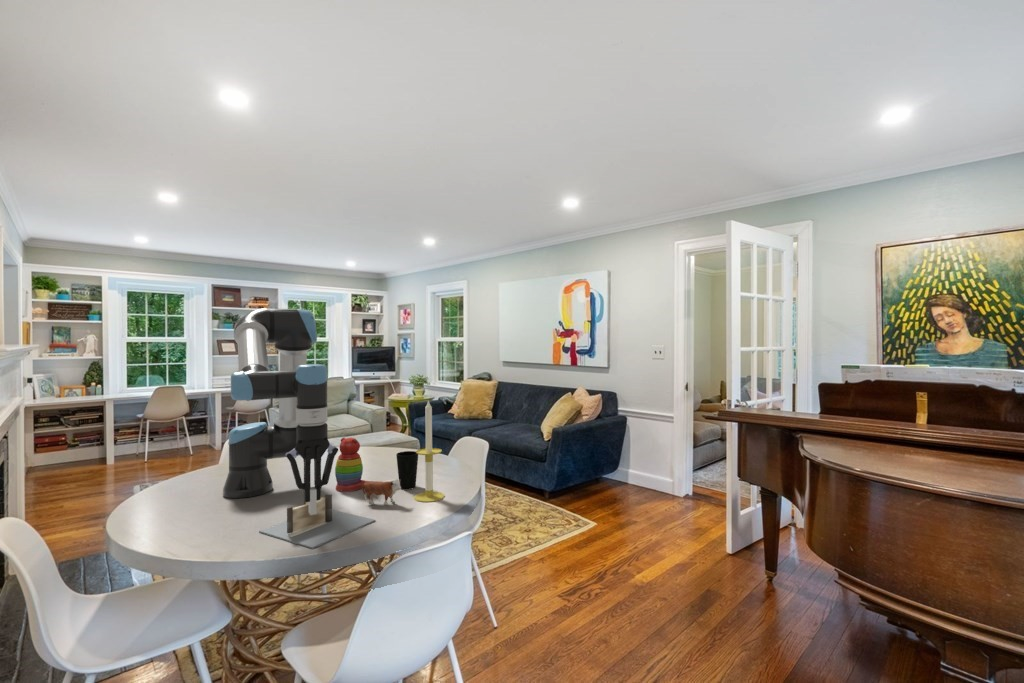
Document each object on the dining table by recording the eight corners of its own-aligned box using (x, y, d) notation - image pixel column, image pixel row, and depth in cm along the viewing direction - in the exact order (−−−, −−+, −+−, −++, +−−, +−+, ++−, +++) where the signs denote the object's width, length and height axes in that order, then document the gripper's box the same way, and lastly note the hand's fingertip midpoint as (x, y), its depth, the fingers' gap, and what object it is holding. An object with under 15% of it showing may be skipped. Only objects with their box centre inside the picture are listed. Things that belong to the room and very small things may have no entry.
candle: (443, 501, 152) (442, 400, 152) (412, 502, 151) (411, 401, 151) (445, 492, 162) (444, 397, 162) (415, 493, 161) (415, 398, 161)
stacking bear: (371, 485, 170) (371, 436, 170) (351, 493, 161) (350, 441, 161) (348, 482, 175) (348, 434, 175) (327, 489, 166) (327, 439, 166)
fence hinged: (322, 520, 134) (322, 497, 134) (325, 521, 134) (325, 497, 134) (286, 532, 126) (285, 507, 126) (288, 533, 125) (288, 508, 125)
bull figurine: (399, 507, 147) (399, 481, 147) (360, 504, 150) (360, 479, 150) (405, 502, 151) (405, 477, 151) (367, 500, 154) (366, 475, 154)
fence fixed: (302, 515, 140) (301, 490, 140) (307, 513, 141) (307, 489, 141) (328, 522, 134) (328, 496, 134) (333, 520, 136) (333, 494, 136)
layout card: (259, 532, 128) (259, 530, 128) (324, 508, 147) (324, 507, 147) (312, 549, 117) (312, 547, 117) (375, 521, 136) (375, 519, 136)
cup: (423, 486, 169) (422, 452, 169) (407, 491, 163) (407, 457, 163) (407, 482, 173) (407, 450, 173) (391, 488, 167) (391, 454, 167)
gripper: (287, 428, 117) (287, 523, 117) (341, 423, 124) (341, 512, 124) (282, 423, 123) (283, 513, 123) (334, 418, 130) (334, 503, 131)
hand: (312, 512), depth 124 cm, fingers closed
